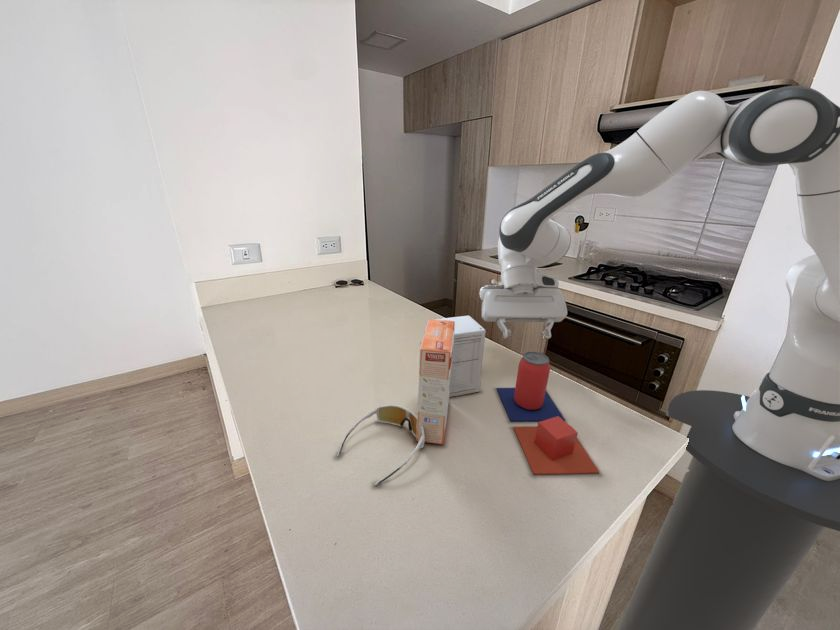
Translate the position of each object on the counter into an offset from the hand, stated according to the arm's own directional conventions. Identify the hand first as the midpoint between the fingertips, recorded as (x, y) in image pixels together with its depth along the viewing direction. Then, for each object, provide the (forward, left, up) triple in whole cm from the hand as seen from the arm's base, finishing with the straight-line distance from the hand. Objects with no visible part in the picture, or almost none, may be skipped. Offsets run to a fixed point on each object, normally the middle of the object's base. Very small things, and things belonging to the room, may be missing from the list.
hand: (527, 338), depth 80 cm
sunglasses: (+33, +19, -14) cm, 41 cm away
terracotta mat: (0, +20, -14) cm, 25 cm away
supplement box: (+16, -2, -14) cm, 21 cm away
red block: (0, +20, -14) cm, 25 cm away
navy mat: (0, +6, -14) cm, 15 cm away
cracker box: (+22, +12, -14) cm, 29 cm away
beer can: (0, +6, -14) cm, 15 cm away
